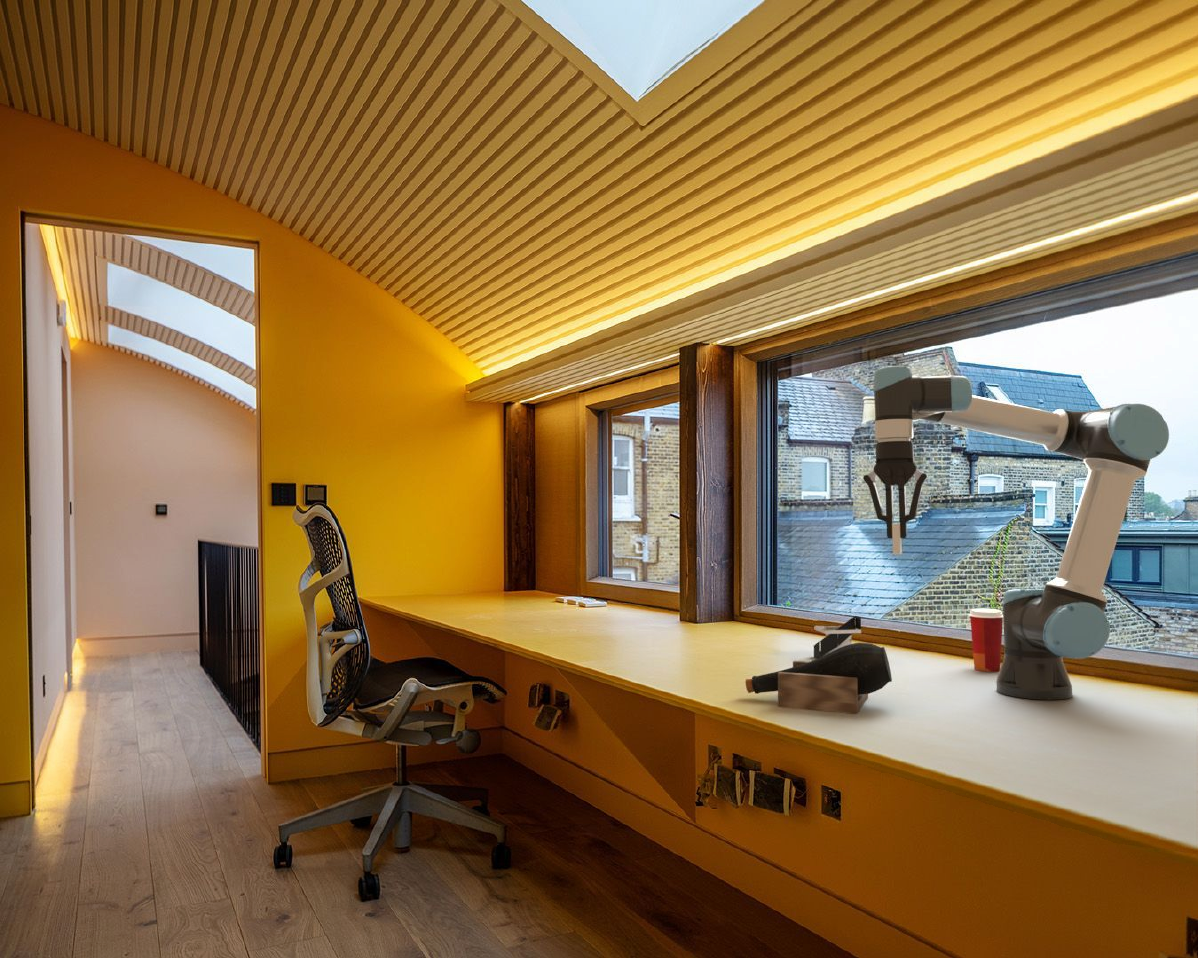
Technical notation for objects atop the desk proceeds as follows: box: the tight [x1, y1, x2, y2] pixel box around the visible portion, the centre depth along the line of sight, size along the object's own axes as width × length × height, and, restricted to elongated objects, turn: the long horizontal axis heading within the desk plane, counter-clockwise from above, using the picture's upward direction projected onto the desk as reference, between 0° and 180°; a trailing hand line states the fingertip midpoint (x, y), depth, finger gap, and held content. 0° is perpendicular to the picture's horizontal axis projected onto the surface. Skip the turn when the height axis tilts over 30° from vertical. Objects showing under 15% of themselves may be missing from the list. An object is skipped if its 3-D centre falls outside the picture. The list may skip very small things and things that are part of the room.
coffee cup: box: [967, 608, 1004, 673], centre depth 224 cm, size 8×8×15 cm
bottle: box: [745, 642, 893, 695], centre depth 188 cm, size 11×11×30 cm
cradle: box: [777, 660, 869, 715], centre depth 189 cm, size 16×16×7 cm
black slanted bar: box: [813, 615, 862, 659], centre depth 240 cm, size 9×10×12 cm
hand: (897, 554), depth 183 cm, fingers closed
